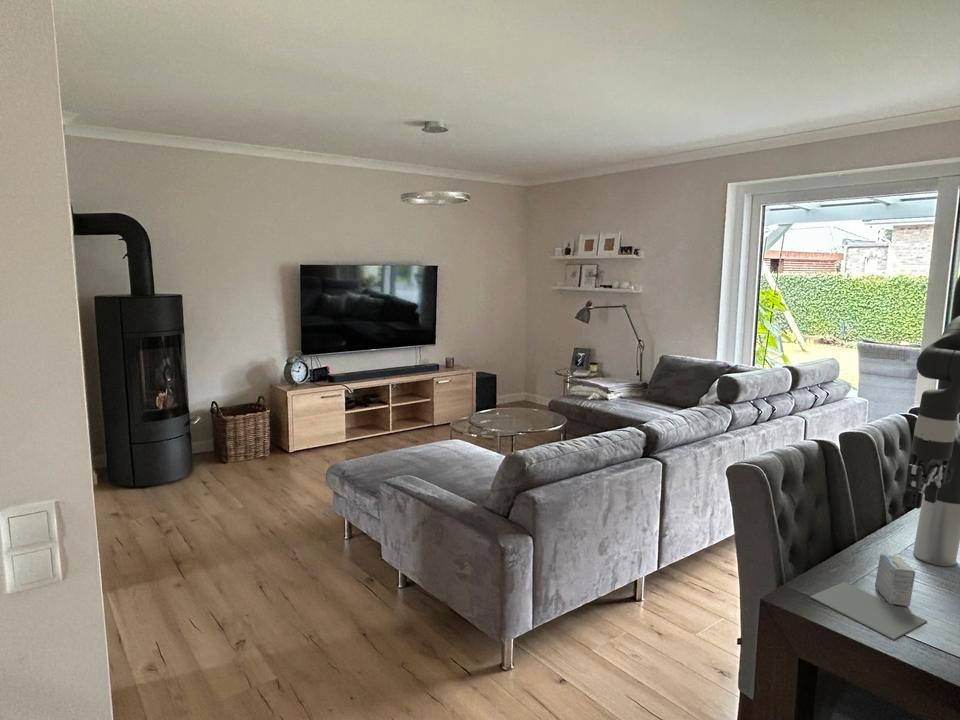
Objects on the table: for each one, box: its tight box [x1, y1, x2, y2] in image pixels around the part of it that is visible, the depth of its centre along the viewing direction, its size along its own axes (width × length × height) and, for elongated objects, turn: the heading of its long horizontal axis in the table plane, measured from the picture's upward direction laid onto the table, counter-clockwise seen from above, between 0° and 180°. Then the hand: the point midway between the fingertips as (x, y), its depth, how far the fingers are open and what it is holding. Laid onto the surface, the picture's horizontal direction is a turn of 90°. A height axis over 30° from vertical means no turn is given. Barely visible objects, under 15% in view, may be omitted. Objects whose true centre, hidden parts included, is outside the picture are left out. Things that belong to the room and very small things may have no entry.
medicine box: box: [874, 554, 916, 607], centre depth 144 cm, size 8×4×9 cm, turn 169°
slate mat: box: [809, 581, 928, 641], centre depth 139 cm, size 14×18×1 cm
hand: (922, 504), depth 145 cm, fingers open, 6 cm apart
